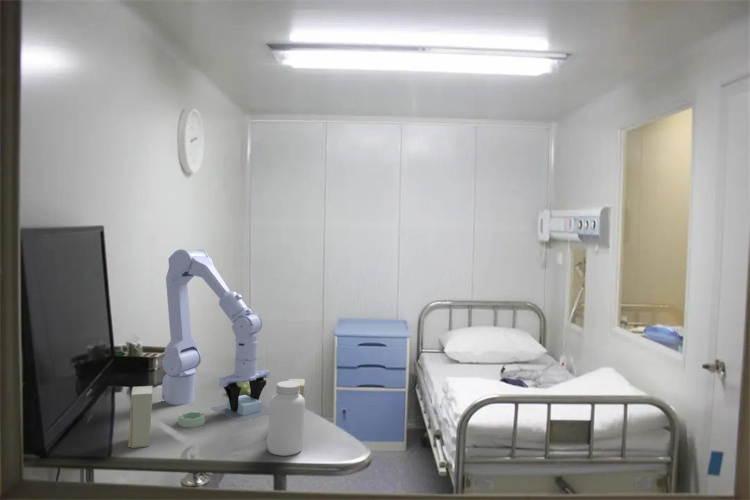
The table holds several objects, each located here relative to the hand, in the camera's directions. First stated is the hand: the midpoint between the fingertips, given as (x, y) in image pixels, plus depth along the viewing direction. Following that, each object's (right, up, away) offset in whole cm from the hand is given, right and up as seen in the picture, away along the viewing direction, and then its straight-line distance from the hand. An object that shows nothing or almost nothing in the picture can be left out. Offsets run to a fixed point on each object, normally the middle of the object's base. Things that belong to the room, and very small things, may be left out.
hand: (244, 408), depth 132 cm
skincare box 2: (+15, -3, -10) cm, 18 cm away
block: (0, 0, 0) cm, 0 cm away
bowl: (-10, -1, -11) cm, 15 cm away
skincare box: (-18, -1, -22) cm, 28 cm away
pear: (-4, -2, +13) cm, 14 cm away
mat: (0, -2, 0) cm, 2 cm away
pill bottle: (+15, -3, -22) cm, 27 cm away
